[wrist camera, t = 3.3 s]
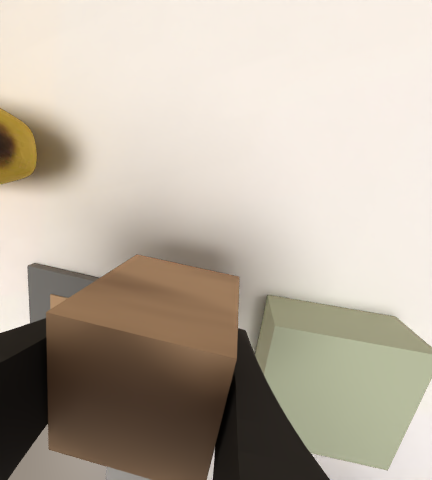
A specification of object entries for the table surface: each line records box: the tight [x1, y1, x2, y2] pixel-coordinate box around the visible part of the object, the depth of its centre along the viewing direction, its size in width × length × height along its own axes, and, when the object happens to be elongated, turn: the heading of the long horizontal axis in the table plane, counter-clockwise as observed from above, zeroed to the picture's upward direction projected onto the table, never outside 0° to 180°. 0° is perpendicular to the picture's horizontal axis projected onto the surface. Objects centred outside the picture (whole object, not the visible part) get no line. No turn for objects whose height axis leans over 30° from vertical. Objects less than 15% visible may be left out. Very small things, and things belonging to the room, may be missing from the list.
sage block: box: [255, 295, 432, 470], centre depth 15 cm, size 9×9×4 cm
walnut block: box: [46, 255, 239, 480], centre depth 8 cm, size 5×5×5 cm
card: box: [28, 263, 99, 323], centre depth 18 cm, size 9×9×1 cm
